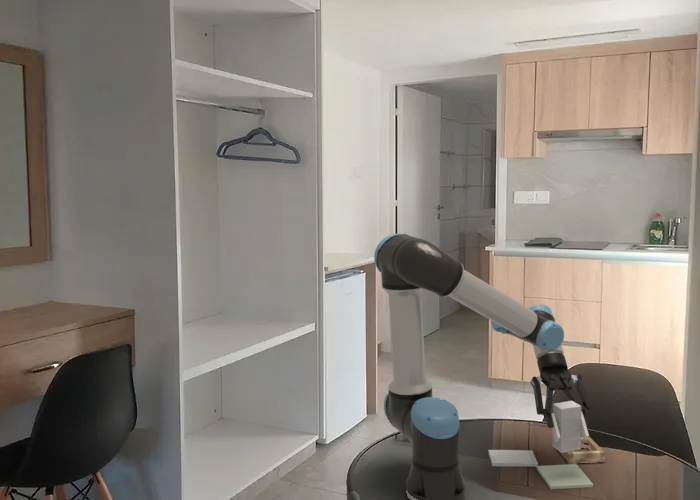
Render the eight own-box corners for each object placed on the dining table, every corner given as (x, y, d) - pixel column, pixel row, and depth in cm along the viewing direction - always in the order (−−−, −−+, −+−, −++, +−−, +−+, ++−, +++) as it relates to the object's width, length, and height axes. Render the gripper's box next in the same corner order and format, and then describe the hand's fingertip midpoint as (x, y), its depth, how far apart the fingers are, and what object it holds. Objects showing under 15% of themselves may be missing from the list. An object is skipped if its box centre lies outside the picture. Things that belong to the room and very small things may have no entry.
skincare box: (571, 443, 175) (572, 400, 173) (581, 449, 171) (582, 406, 169) (551, 446, 173) (552, 403, 172) (560, 453, 169) (561, 409, 168)
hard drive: (491, 462, 180) (538, 462, 180) (487, 449, 189) (531, 449, 188) (491, 468, 181) (538, 468, 180) (487, 454, 189) (531, 454, 188)
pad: (550, 489, 168) (550, 486, 167) (536, 468, 178) (536, 466, 178) (593, 487, 168) (593, 484, 168) (576, 466, 179) (576, 464, 179)
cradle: (568, 464, 180) (569, 454, 180) (555, 448, 190) (555, 438, 190) (604, 462, 181) (604, 452, 180) (589, 446, 191) (589, 436, 190)
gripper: (581, 362, 185) (604, 442, 172) (512, 365, 184) (530, 446, 171) (589, 349, 179) (614, 431, 166) (518, 352, 178) (537, 435, 165)
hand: (571, 438), depth 168 cm, fingers closed on skincare box, 7 cm apart
